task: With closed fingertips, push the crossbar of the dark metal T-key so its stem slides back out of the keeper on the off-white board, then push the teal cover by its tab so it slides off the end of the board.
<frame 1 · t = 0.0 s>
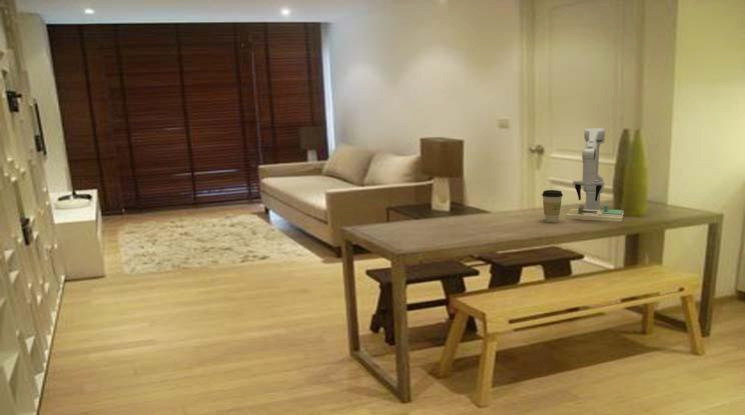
hand: (587, 200, 301), 10 cm above the table, fingers open, 7 cm apart
t key: (588, 209, 311), point 4 cm above the table, slide at 0.0 cm
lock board: (595, 217, 310), on the table
coffee cup: (551, 221, 304), on the table
cover: (612, 209, 305), point 4 cm above the table, slide at 0.0 cm
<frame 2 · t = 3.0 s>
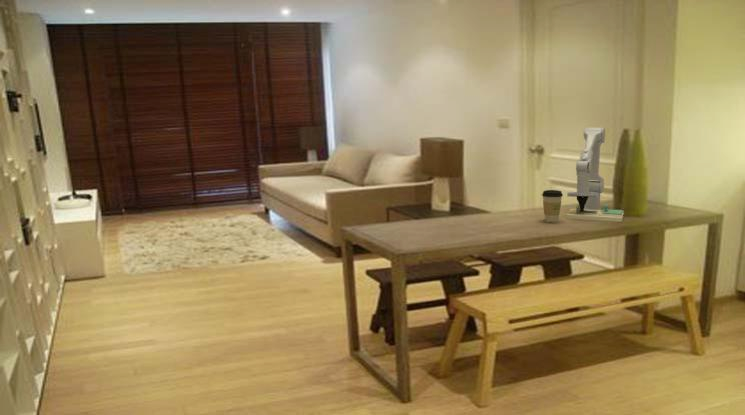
hand: (582, 211, 309), 3 cm above the table, fingers closed
t key: (586, 209, 311), point 4 cm above the table, slide at 1.0 cm, touching gripper
everything else where it was.
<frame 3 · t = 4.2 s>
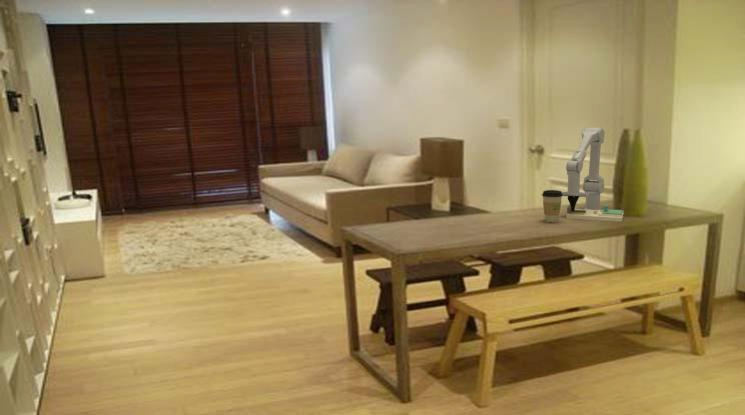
hand: (572, 210, 311), 3 cm above the table, fingers closed
t key: (577, 209, 313), point 4 cm above the table, slide at 5.4 cm, touching gripper
everything else where it was.
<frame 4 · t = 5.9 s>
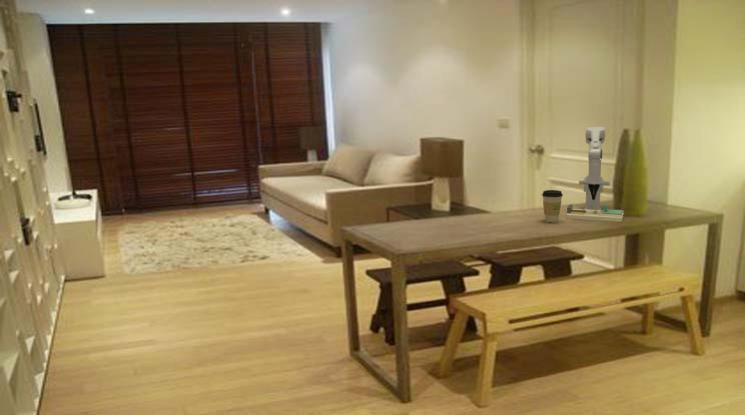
hand: (593, 199, 308), 9 cm above the table, fingers closed
t key: (577, 209, 313), point 4 cm above the table, slide at 5.4 cm
everything else where it was.
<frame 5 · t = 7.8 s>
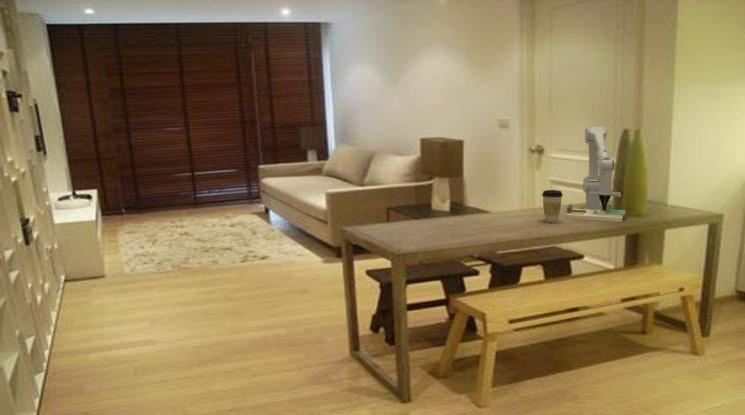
hand: (604, 210, 307), 4 cm above the table, fingers closed
cover: (615, 209, 304), point 4 cm above the table, slide at 1.5 cm, touching gripper
everything else where it was.
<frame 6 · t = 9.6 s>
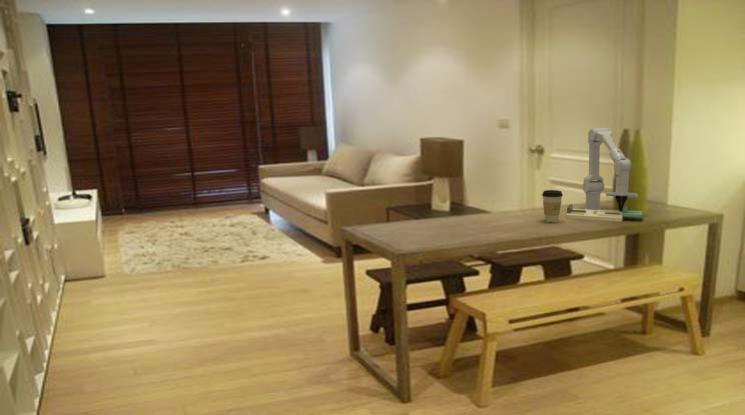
hand: (620, 211, 304), 4 cm above the table, fingers closed
cover: (632, 210, 301), point 4 cm above the table, slide at 9.2 cm, touching gripper
everything else where it was.
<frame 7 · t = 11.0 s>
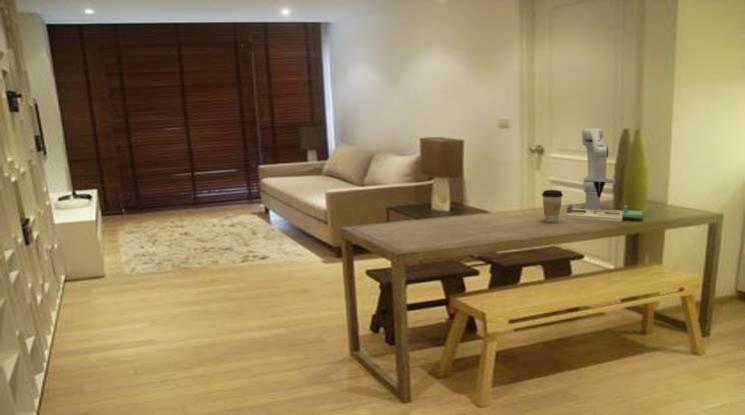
hand: (599, 196, 311), 10 cm above the table, fingers closed
cover: (632, 210, 301), point 4 cm above the table, slide at 9.2 cm
everything else where it was.
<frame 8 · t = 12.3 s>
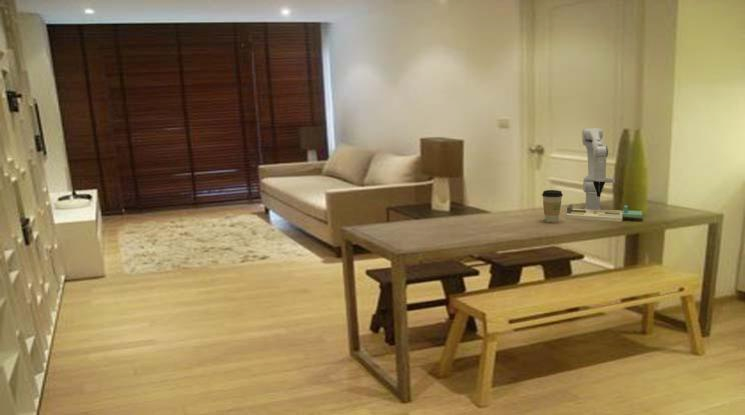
hand: (598, 196, 311), 10 cm above the table, fingers closed
nothing on the table moved.
at the end: t key slide at 5.4 cm; cover slide at 9.2 cm; the gripper is holding nothing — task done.
